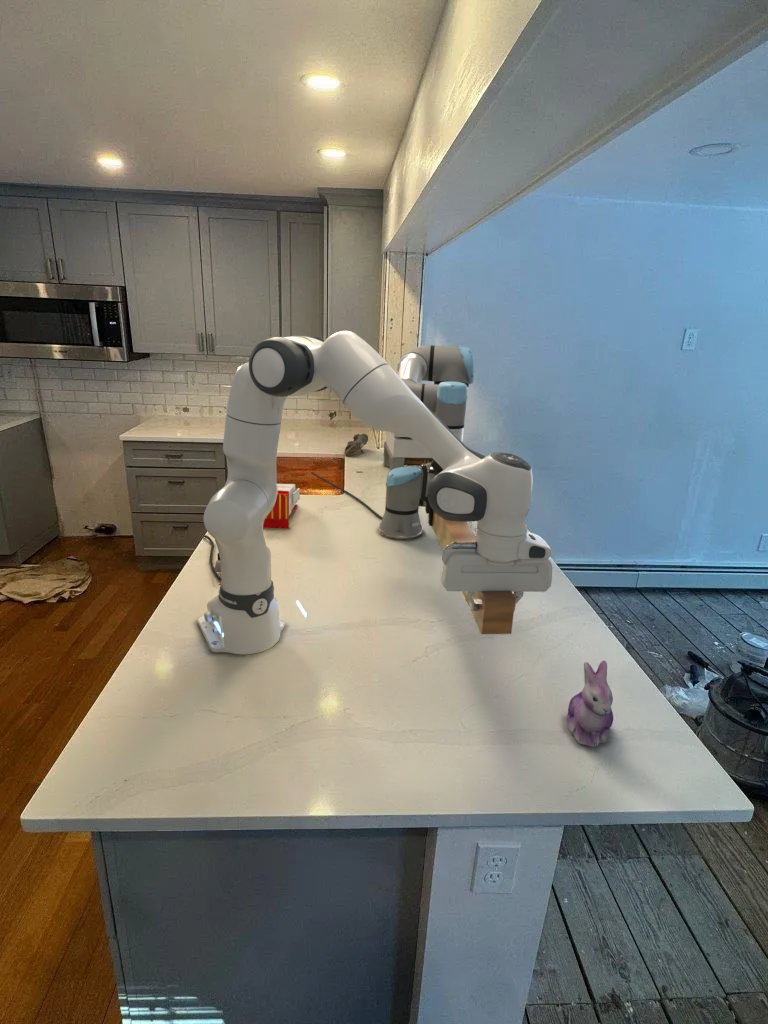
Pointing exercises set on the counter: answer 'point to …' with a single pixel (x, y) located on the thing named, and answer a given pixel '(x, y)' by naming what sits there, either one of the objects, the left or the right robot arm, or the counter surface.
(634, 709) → the counter surface
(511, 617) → the bar
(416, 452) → the slatted wooden crate
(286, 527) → the toy
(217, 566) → the figurine character
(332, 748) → the counter surface
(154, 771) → the counter surface
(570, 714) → the figurine
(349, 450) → the fossil
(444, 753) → the counter surface
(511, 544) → the left robot arm
